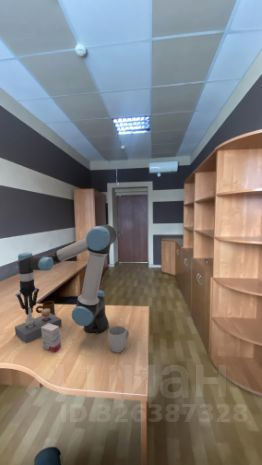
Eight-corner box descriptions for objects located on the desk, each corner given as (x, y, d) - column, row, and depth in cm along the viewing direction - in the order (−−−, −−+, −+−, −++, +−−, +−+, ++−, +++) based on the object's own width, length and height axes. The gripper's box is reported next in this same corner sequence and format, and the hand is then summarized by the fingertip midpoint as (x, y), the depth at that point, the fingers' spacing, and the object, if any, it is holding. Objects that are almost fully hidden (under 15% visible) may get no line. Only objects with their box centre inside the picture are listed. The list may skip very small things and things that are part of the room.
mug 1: (37, 322, 141) (36, 308, 140) (35, 317, 147) (34, 304, 146) (56, 316, 147) (55, 303, 146) (53, 312, 154) (52, 300, 153)
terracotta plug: (52, 321, 134) (51, 309, 133) (44, 324, 130) (44, 312, 130) (48, 318, 137) (47, 307, 137) (40, 322, 134) (40, 310, 133)
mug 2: (117, 356, 104) (116, 337, 104) (105, 349, 111) (104, 330, 110) (134, 344, 114) (134, 326, 113) (122, 338, 120) (122, 321, 119)
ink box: (61, 347, 113) (60, 326, 112) (53, 353, 109) (52, 330, 108) (49, 343, 117) (48, 322, 116) (42, 348, 113) (40, 326, 112)
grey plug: (36, 330, 127) (36, 318, 126) (28, 334, 123) (27, 322, 122) (33, 328, 130) (32, 316, 129) (24, 331, 126) (23, 319, 126)
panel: (61, 326, 134) (61, 319, 134) (25, 343, 118) (25, 334, 117) (50, 319, 143) (49, 312, 143) (15, 334, 127) (14, 326, 126)
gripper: (35, 275, 131) (37, 312, 133) (12, 281, 121) (15, 321, 123) (40, 278, 126) (43, 316, 128) (17, 283, 116) (20, 325, 118)
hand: (29, 318), depth 126 cm, fingers closed
